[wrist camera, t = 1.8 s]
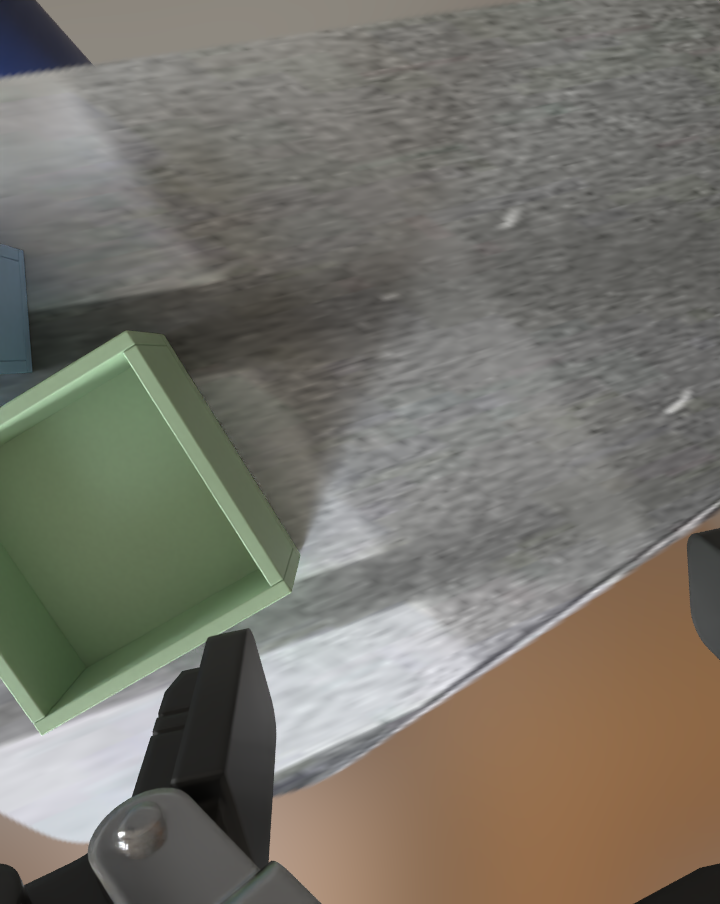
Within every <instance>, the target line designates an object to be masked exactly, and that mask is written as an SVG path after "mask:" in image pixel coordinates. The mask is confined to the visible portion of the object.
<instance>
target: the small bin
mask: <svg viewBox="0 0 720 904" xmlns="http://www.w3.org/2000/svg"><path fill="white" fill-rule="evenodd" d="M31 372H32V359H31V346H30V332H29V319H28V305H27V292H26V279H25V265H24V252H23V250H20V249H16V248H13V247H10V246H7V245H4V244H0V374H15V373H31Z"/></svg>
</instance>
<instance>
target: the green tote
mask: <svg viewBox="0 0 720 904" xmlns="http://www.w3.org/2000/svg"><path fill="white" fill-rule="evenodd" d="M299 559H300V553H299V551H298V550H297V548H296V547H295V545H294V543H293V542H292V540H291V538H290V537H289V535H288V534H287V532H286V530H285V529H284V527H283V526H282V524H281V522H280V521H279V519H278V518H277V516H276V514H275V513H274V511H273V510H272V508H271V506H270V505H269V503H268V501H267V500H266V498H265V497H264V495H263V493H262V492H261V490H260V489H259V487H258V485H257V484H256V482H255V481H254V479H253V477H252V476H251V474H250V473H249V471H248V469H247V468H246V466H245V464H244V463H243V461H242V460H241V458H240V456H239V455H238V453H237V452H236V450H235V448H234V447H233V445H232V444H231V442H230V440H229V439H228V437H227V436H226V434H225V432H224V431H223V429H222V427H221V426H220V424H219V423H218V421H217V419H216V418H215V416H214V415H213V413H212V411H211V410H210V408H209V407H208V405H207V403H206V402H205V400H204V399H203V397H202V395H201V394H200V392H199V391H198V389H197V387H196V386H195V384H194V382H193V381H192V379H191V378H190V376H189V374H188V373H187V371H186V370H185V368H184V366H183V365H182V363H181V362H180V360H179V358H178V357H177V355H176V354H175V352H174V350H173V349H172V347H171V345H170V344H169V342H168V341H167V339H166V337H165V336H164V335H163V334H156V333H147V332H137V331H128V330H126V331H124V332H123V333H121V334H119V335H118V336H116V337H114V338H113V339H111V340H109V341H108V342H106V343H104V344H103V345H101V346H100V347H98V348H96V349H95V350H93V351H91V352H90V353H88V354H86V355H85V356H83V357H82V358H80V359H78V360H77V361H75V362H73V363H72V364H70V365H68V366H67V367H65V368H64V369H62V370H60V371H59V372H57V373H55V374H54V375H52V376H50V377H49V378H47V379H46V380H44V381H42V382H41V383H39V384H37V385H36V386H34V387H32V388H31V389H29V390H28V391H26V392H24V393H23V394H21V395H19V396H18V397H16V398H14V399H13V400H11V401H10V402H8V403H6V404H5V405H3V406H1V407H0V678H1V679H2V681H3V682H4V683H5V685H6V686H7V688H8V689H9V690H10V692H11V693H12V695H13V696H14V698H15V699H16V700H17V702H18V703H19V705H20V706H21V707H22V709H23V710H24V712H25V713H26V714H27V716H28V717H29V719H30V720H31V722H32V723H34V726H35V727H36V729H37V730H38V731H39V733H40V734H41V735H44V734H46V733H48V732H49V731H51V730H53V729H55V728H56V727H58V726H60V725H62V724H63V723H65V722H67V721H69V720H70V719H72V718H74V717H76V716H77V715H79V714H81V713H82V712H84V711H86V710H88V709H89V708H91V707H93V706H95V705H96V704H98V703H100V702H102V701H103V700H105V699H107V698H109V697H110V696H112V695H114V694H116V693H117V692H119V691H121V690H123V689H124V688H126V687H128V686H129V685H131V684H133V683H135V682H136V681H138V680H140V679H142V678H143V677H145V676H147V675H149V674H150V673H152V672H154V671H156V670H157V669H159V668H161V667H163V666H164V665H166V664H168V663H170V662H171V661H173V660H175V659H177V658H178V657H180V656H182V655H183V654H185V653H187V652H189V651H190V650H192V649H194V648H196V647H197V646H199V645H201V644H203V643H204V642H206V641H207V638H208V637H210V636H214V635H218V634H220V633H222V632H224V631H225V630H227V629H229V628H230V627H232V626H234V625H236V624H237V623H239V622H241V621H243V620H244V619H246V618H248V617H250V616H251V615H253V614H255V613H257V612H258V611H260V610H262V609H264V608H265V607H267V606H269V605H271V604H272V603H274V602H276V601H278V600H279V599H281V598H283V597H284V596H286V595H288V594H290V593H291V592H292V588H293V584H294V580H295V576H296V572H297V568H298V564H299Z"/></svg>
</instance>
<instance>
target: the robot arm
mask: <svg viewBox="0 0 720 904" xmlns="http://www.w3.org/2000/svg"><path fill="white" fill-rule="evenodd" d="M687 556H688V573H689V590H690V607H691V615H692V619H693V623H694V626H695V628H696V631H697V633H698V635H699V637H700V638H701V640H702V641H703V643H704V644H705V645H706V646H707V647H708V649H709V650H710V651H711V652H712V653H714V654H715V655H716V656H717V658H719V660H720V528H719V529H714V530H709V531H705V532H700V533H695V534H692V535H691V536H690V537H689V539H688V543H687ZM158 715H159V718H157V719H156V722H155V725H154V728H153V736H151V738H150V741H149V744H148V747H147V751H146V754H145V757H144V760H143V763H142V766H141V770H140V773H139V776H138V779H137V782H136V785H135V789H134V792H133V795H132V798H130V799H128V800H126V801H125V802H123V803H122V804H120V805H119V806H118V807H116V808H115V809H114V810H113V811H111V812H110V813H109V814H108V815H107V816H106V817H105V818H104V819H103V821H102V822H101V823H100V824H99V826H98V827H97V829H96V830H95V832H94V834H93V836H92V838H91V840H90V843H89V847H88V853H87V854H86V855H84V856H82V857H81V858H79V859H77V860H75V861H73V862H72V863H70V864H68V865H65V866H64V867H61V868H59V869H57V870H55V871H53V872H51V873H49V874H47V875H45V876H42V877H40V878H38V879H36V880H34V881H32V882H30V883H28V884H26V885H23V883H22V880H21V878H20V876H19V874H18V872H17V871H16V870H15V869H14V868H13V867H11V866H8V865H6V864H0V904H321V903H320V902H319V901H318V900H317V899H316V898H315V897H314V896H313V895H312V894H311V893H310V892H309V891H308V890H307V889H306V888H305V887H304V886H303V885H302V884H301V883H300V882H299V881H298V880H297V879H296V878H295V877H294V876H293V875H292V874H291V873H290V872H289V871H288V870H287V869H286V868H284V867H283V866H282V865H281V864H279V863H278V862H276V861H271V862H269V861H268V860H269V846H270V845H269V844H270V829H271V814H272V797H273V781H274V765H275V749H276V722H275V715H274V709H273V704H272V700H271V696H270V692H269V689H268V685H267V682H266V678H265V675H264V671H263V667H262V664H261V660H260V657H259V653H258V650H257V646H256V643H255V639H254V636H253V634H252V632H251V630H250V629H249V628H247V629H242V630H238V631H233V632H228V633H224V634H219V635H214V636H210V637H208V638H207V641H206V644H205V648H204V652H203V656H202V660H201V664H200V667H199V668H195V669H190V670H185V671H182V672H181V673H180V675H179V676H178V677H177V678H176V679H175V681H174V682H173V683H172V684H171V685H170V687H169V688H168V689H167V690H166V691H165V694H164V697H163V700H162V703H161V706H160V709H159V713H158ZM268 862H269V863H268ZM635 904H720V864H715V865H711V866H707V867H702V868H699V869H697V870H695V871H693V872H692V873H690V874H688V875H686V876H684V877H682V878H681V879H679V880H677V881H675V882H673V883H671V884H669V885H668V886H666V887H664V888H662V889H660V890H658V891H657V892H655V893H653V894H651V895H649V896H647V897H646V898H644V899H642V900H640V901H638V902H636V903H635Z"/></svg>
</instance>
